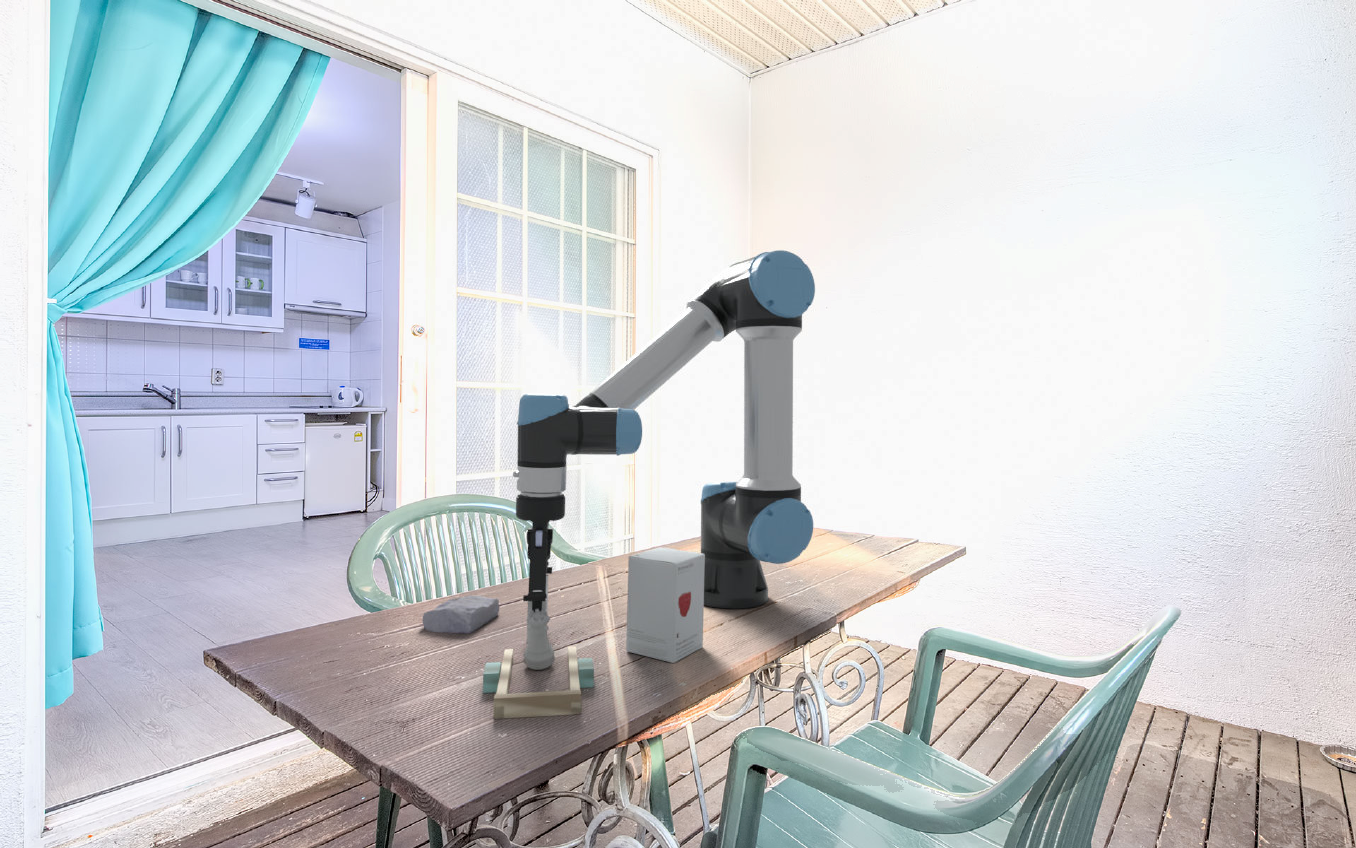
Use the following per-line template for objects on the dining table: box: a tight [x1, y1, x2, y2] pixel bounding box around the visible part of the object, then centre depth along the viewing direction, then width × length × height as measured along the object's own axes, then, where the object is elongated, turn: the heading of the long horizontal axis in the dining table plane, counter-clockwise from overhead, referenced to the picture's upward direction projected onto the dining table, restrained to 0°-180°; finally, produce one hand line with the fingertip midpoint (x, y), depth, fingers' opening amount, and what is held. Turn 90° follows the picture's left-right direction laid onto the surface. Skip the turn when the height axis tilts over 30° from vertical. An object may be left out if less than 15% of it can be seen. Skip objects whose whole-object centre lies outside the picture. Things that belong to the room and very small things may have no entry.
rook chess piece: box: [523, 609, 556, 671], centre depth 101 cm, size 4×4×8 cm
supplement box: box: [625, 546, 705, 664], centre depth 110 cm, size 9×9×15 cm
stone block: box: [422, 595, 500, 635], centre depth 122 cm, size 12×5×10 cm
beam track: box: [482, 645, 595, 720], centre depth 96 cm, size 20×14×2 cm
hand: (537, 628), depth 111 cm, fingers open, 13 cm apart
